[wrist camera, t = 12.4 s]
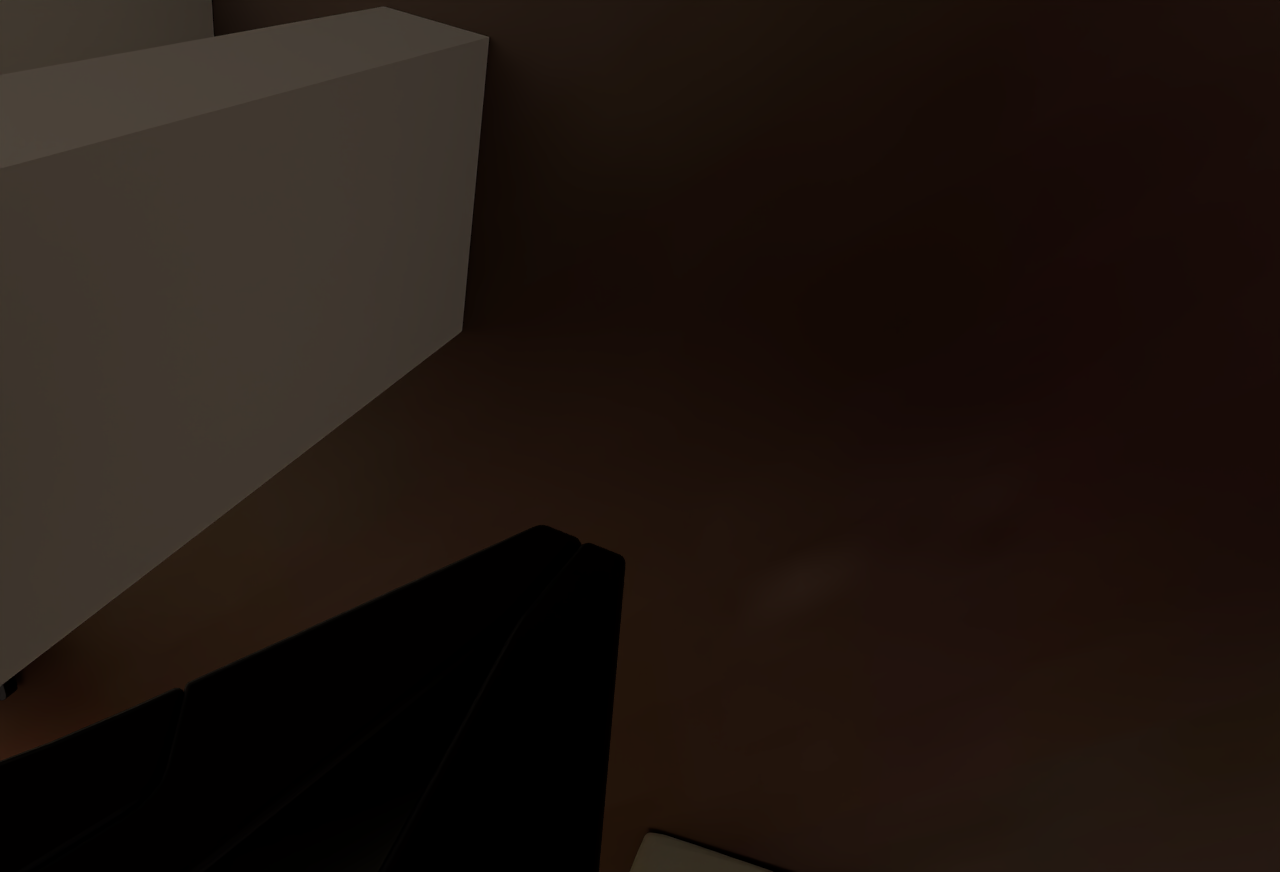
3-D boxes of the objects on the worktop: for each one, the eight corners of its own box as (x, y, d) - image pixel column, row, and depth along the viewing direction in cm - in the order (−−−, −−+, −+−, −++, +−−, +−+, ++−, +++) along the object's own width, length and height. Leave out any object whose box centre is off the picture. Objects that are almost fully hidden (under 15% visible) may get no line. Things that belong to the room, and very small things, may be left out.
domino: (489, 36, 14) (-275, 242, 6) (462, 331, 17) (-82, 748, 9) (383, 5, 14) (-477, 160, 6) (374, 299, 17) (-228, 672, 9)
